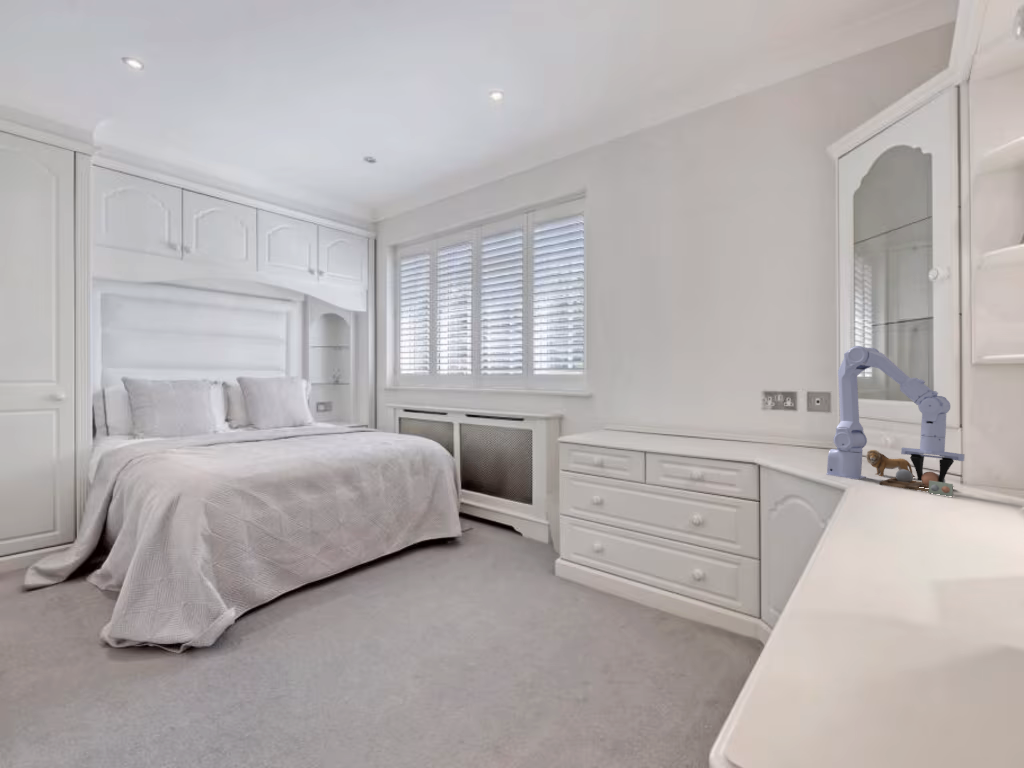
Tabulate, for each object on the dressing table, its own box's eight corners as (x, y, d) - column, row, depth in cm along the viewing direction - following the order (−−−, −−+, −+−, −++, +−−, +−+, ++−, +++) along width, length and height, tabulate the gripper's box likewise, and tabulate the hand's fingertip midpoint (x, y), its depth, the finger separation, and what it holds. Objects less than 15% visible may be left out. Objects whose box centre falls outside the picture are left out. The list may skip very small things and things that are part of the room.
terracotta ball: (919, 485, 153) (919, 471, 153) (922, 484, 156) (923, 470, 156) (937, 488, 150) (938, 473, 150) (941, 486, 152) (941, 472, 152)
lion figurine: (868, 476, 176) (869, 450, 176) (862, 473, 181) (864, 448, 181) (919, 480, 172) (920, 454, 172) (911, 477, 177) (913, 452, 177)
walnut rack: (879, 485, 159) (879, 481, 159) (893, 480, 169) (893, 477, 169) (942, 495, 148) (943, 491, 148) (953, 490, 157) (954, 486, 157)
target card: (928, 494, 148) (929, 480, 148) (928, 494, 149) (929, 480, 148) (951, 498, 144) (952, 484, 144) (952, 498, 145) (952, 483, 144)
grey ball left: (893, 482, 164) (894, 468, 164) (897, 481, 167) (898, 467, 167) (910, 485, 160) (911, 471, 160) (914, 483, 163) (915, 470, 163)
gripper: (899, 434, 156) (897, 478, 156) (961, 439, 144) (959, 487, 145) (905, 433, 160) (903, 476, 160) (967, 438, 149) (964, 485, 149)
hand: (930, 481), depth 153 cm, fingers closed on terracotta ball, 4 cm apart
